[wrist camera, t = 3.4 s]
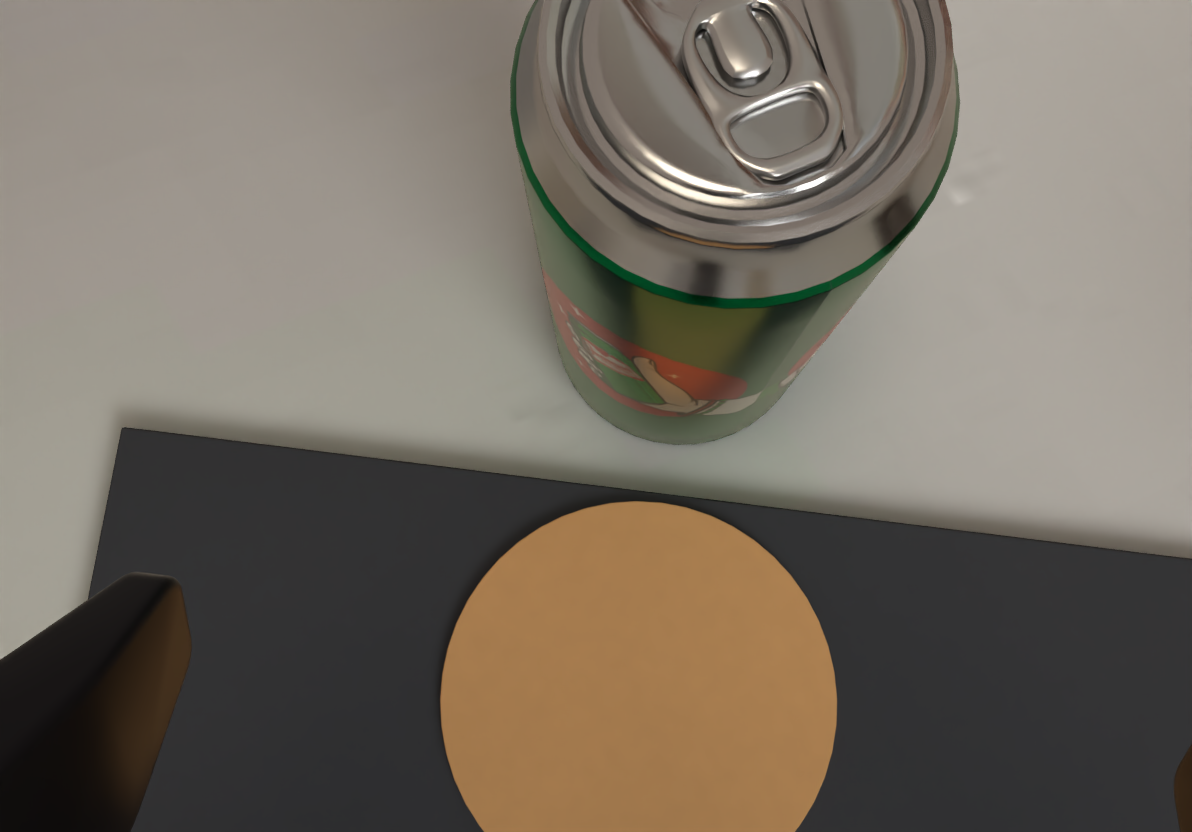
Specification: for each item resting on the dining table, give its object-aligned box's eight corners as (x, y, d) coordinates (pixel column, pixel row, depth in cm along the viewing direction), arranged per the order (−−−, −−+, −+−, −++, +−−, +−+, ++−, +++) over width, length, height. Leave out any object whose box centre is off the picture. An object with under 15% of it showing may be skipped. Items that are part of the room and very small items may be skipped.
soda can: (738, 175, 24) (860, -246, 12) (841, 390, 23) (1080, 161, 11) (519, 268, 24) (425, -72, 12) (616, 488, 23) (619, 358, 11)
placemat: (1185, 1285, 20) (1202, 1305, 20) (-6, 1112, 21) (-24, 1126, 20) (1210, 563, 23) (1226, 561, 22) (129, 429, 23) (116, 424, 23)
